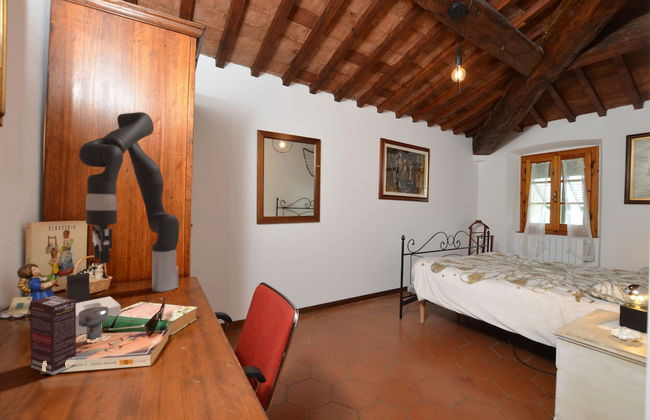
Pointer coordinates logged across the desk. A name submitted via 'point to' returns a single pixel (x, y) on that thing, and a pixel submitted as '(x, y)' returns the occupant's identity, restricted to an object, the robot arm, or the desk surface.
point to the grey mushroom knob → (93, 320)
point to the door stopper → (78, 287)
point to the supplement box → (52, 333)
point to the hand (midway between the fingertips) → (101, 260)
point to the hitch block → (108, 302)
